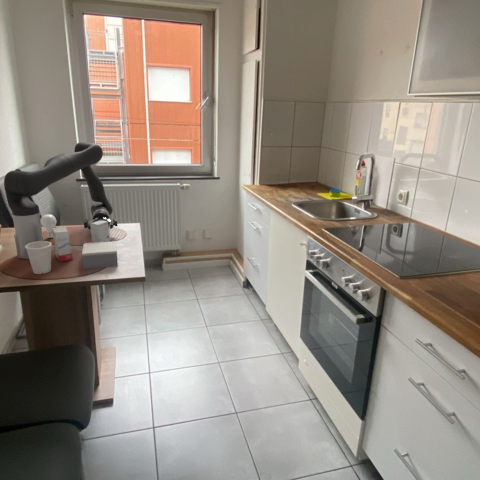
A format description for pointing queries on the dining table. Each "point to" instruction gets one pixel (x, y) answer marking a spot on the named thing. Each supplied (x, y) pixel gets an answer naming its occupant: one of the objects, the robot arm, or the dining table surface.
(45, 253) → the dixie cup
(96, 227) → the skincare box
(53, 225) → the lightbulb
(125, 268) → the dining table surface
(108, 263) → the plinth
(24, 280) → the dining table surface
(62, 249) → the ink box
